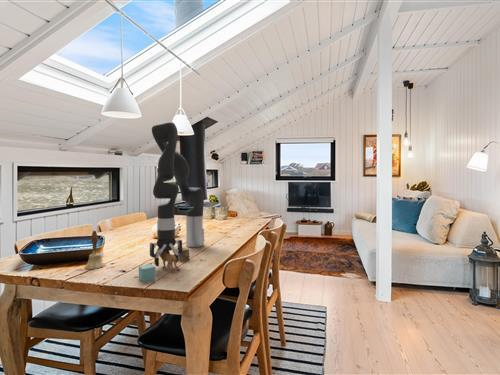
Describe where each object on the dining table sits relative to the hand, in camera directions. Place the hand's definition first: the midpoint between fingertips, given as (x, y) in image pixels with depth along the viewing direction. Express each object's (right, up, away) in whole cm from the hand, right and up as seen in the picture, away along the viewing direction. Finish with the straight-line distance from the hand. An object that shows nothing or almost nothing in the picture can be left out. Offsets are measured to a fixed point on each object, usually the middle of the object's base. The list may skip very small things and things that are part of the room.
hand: (166, 264), depth 138 cm
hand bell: (-32, -1, +1) cm, 32 cm away
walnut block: (+4, -1, +14) cm, 14 cm away
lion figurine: (+1, -2, -1) cm, 2 cm away
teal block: (-4, -2, -14) cm, 14 cm away
